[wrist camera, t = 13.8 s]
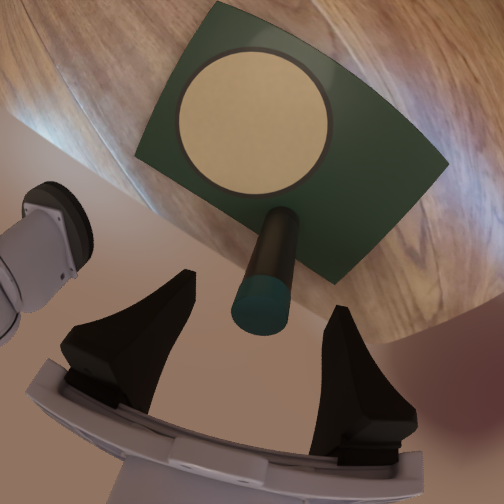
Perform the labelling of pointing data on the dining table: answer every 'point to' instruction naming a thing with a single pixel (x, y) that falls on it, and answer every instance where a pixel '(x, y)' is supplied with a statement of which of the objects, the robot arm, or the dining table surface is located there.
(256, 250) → the pill bottle
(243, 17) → the kitchen scale
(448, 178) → the dining table surface
